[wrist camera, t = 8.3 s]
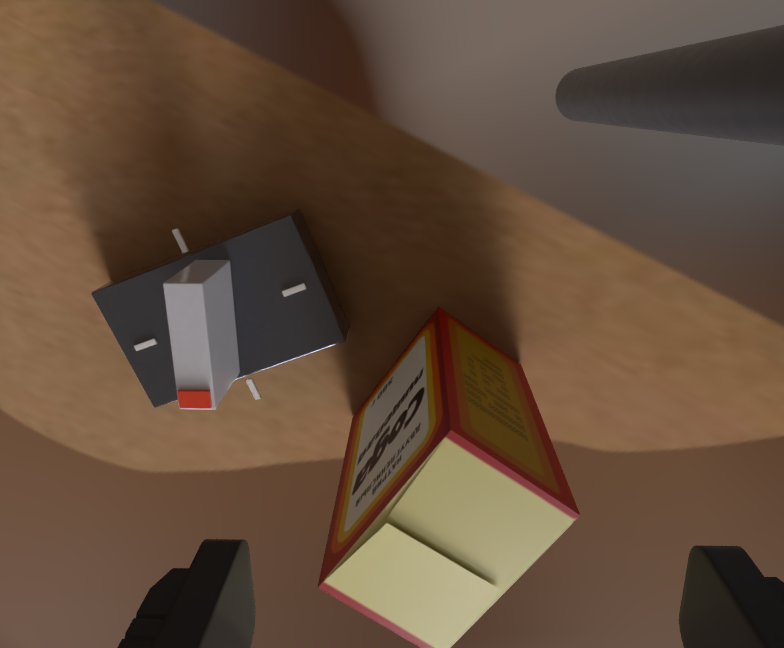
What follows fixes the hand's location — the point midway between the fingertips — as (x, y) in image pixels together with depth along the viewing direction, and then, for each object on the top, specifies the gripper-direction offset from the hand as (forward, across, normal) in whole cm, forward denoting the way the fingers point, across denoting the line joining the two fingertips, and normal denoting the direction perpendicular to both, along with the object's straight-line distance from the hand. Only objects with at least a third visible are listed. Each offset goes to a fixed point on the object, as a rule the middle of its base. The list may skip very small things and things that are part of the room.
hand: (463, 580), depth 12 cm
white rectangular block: (+26, +13, +4) cm, 29 cm away
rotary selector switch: (+28, +13, +4) cm, 31 cm away
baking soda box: (+28, 0, +10) cm, 30 cm away
